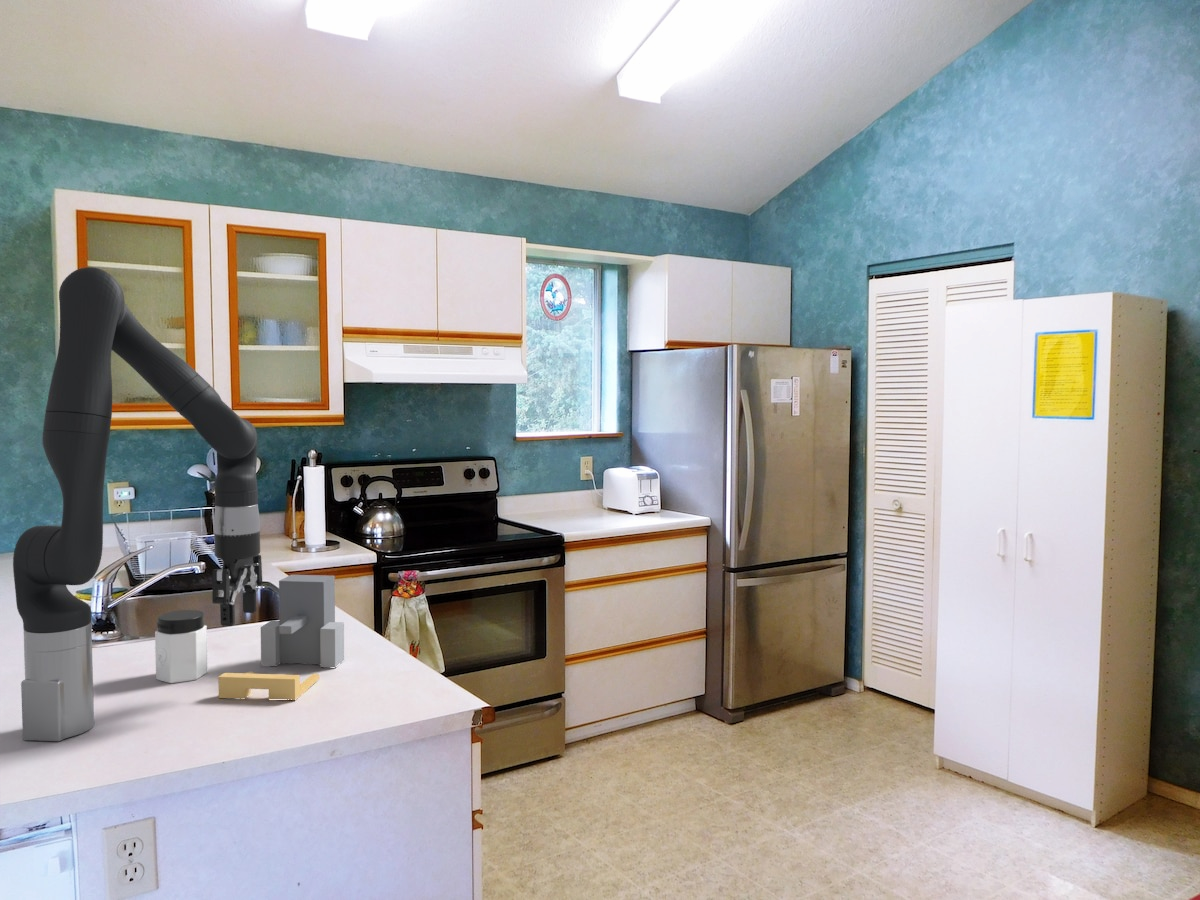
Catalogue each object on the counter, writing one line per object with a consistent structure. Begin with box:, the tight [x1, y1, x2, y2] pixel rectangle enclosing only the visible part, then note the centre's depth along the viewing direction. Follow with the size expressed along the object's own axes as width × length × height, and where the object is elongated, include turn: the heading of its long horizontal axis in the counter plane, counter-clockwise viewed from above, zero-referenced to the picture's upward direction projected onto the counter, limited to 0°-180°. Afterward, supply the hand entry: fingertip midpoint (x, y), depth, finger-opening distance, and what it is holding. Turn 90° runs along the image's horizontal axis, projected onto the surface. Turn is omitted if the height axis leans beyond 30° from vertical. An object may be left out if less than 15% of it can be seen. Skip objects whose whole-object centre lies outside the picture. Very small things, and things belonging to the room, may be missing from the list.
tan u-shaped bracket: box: [217, 671, 320, 700], centre depth 157 cm, size 11×14×4 cm
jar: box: [154, 609, 209, 684], centre depth 163 cm, size 9×8×12 cm
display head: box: [260, 574, 345, 668], centre depth 170 cm, size 14×15×17 cm
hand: (239, 618), depth 153 cm, fingers open, 8 cm apart
